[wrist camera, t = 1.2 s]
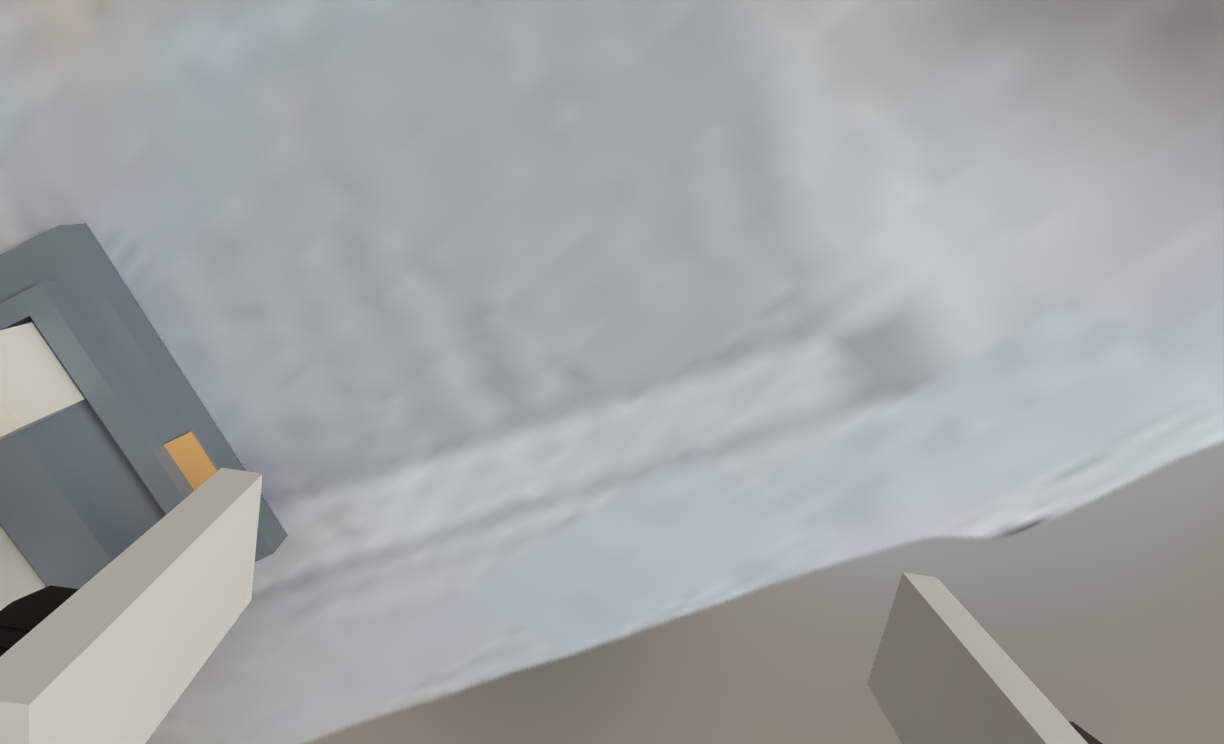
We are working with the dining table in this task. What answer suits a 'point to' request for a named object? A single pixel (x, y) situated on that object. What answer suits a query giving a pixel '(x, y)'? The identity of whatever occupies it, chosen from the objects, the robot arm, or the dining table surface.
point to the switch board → (100, 418)
